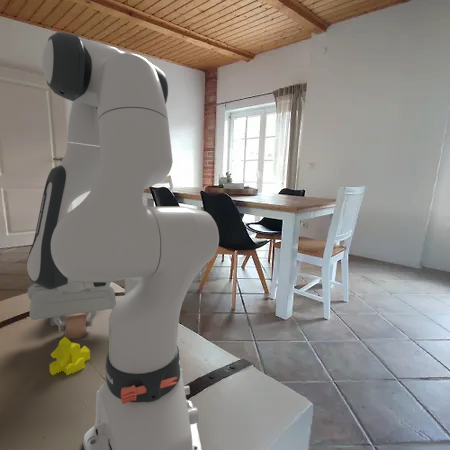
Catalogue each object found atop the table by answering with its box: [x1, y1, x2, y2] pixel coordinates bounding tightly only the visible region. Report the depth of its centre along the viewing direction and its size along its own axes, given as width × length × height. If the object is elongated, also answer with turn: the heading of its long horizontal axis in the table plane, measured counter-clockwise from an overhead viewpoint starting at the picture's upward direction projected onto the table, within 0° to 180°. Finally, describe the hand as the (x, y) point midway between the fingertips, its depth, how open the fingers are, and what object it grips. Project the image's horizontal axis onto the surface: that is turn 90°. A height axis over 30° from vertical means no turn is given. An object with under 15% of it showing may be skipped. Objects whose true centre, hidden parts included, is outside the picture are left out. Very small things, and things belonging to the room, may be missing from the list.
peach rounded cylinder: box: [64, 312, 88, 340], centre depth 76 cm, size 5×5×5 cm
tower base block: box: [49, 315, 66, 327], centre depth 83 cm, size 7×7×5 cm
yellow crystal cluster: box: [49, 336, 91, 376], centre depth 63 cm, size 6×8×8 cm
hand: (75, 327), depth 76 cm, fingers closed on peach rounded cylinder, 5 cm apart
